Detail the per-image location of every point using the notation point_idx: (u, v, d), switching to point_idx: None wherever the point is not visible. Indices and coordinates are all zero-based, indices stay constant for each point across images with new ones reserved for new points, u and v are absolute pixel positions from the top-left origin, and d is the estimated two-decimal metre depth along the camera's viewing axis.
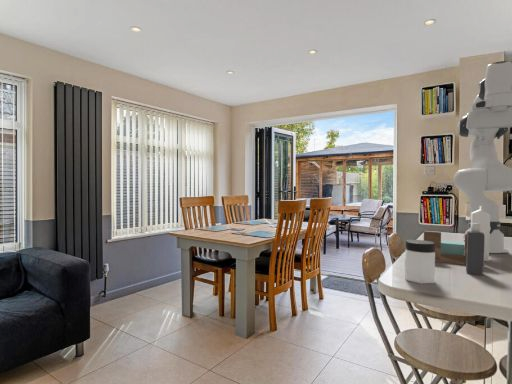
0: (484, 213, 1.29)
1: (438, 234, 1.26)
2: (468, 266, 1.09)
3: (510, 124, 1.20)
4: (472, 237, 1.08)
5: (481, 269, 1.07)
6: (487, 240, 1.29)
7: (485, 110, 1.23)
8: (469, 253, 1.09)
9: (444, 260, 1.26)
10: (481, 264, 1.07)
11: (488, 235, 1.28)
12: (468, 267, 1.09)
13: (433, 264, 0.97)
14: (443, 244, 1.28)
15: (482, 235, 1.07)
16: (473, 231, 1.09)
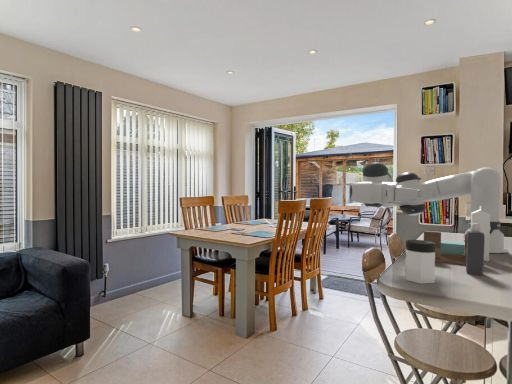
0: (484, 213, 1.29)
1: (438, 234, 1.26)
2: (468, 266, 1.09)
3: (418, 189, 1.22)
4: (472, 237, 1.08)
5: (481, 269, 1.07)
6: (487, 240, 1.29)
7: (398, 186, 1.18)
8: (469, 253, 1.09)
9: (444, 260, 1.26)
10: (481, 264, 1.07)
11: (488, 235, 1.28)
12: (468, 267, 1.09)
13: (433, 264, 0.97)
14: (443, 244, 1.28)
15: (482, 235, 1.07)
16: (473, 231, 1.09)
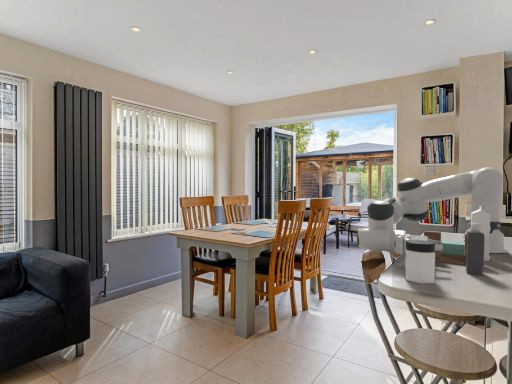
0: (484, 213, 1.29)
1: (438, 234, 1.26)
2: (468, 266, 1.09)
3: (426, 238, 1.20)
4: (472, 237, 1.08)
5: (481, 269, 1.07)
6: (487, 240, 1.29)
7: (407, 236, 1.16)
8: (469, 253, 1.09)
9: (444, 260, 1.26)
10: (481, 264, 1.07)
11: (488, 235, 1.28)
12: (468, 267, 1.09)
13: (433, 264, 0.97)
14: (443, 244, 1.28)
15: (482, 235, 1.07)
16: (473, 231, 1.09)
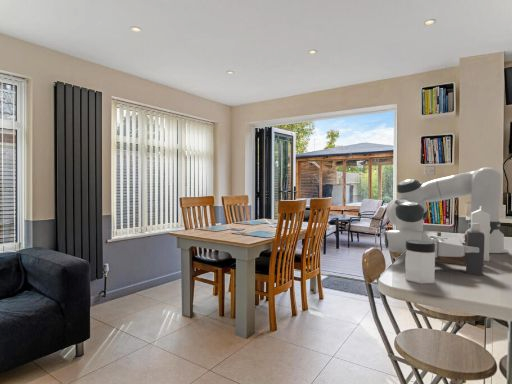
0: (484, 213, 1.29)
1: (438, 234, 1.26)
2: (468, 266, 1.09)
3: (459, 240, 1.15)
4: (472, 237, 1.08)
5: (481, 269, 1.07)
6: (487, 240, 1.29)
7: (440, 238, 1.11)
8: (469, 253, 1.09)
9: (444, 260, 1.26)
10: (481, 264, 1.07)
11: (488, 235, 1.28)
12: (468, 267, 1.09)
13: (433, 264, 0.97)
14: None
15: (482, 235, 1.07)
16: (473, 231, 1.09)
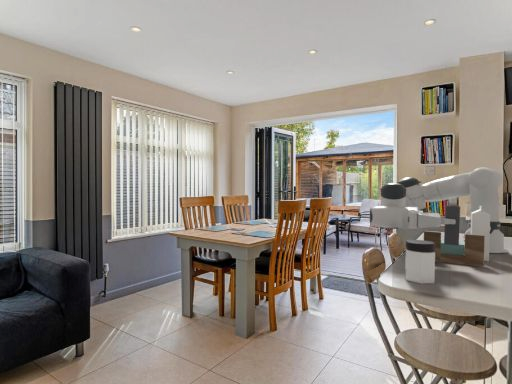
0: (484, 213, 1.29)
1: (438, 234, 1.26)
2: (445, 237, 1.17)
3: (438, 214, 1.23)
4: (449, 210, 1.16)
5: (457, 240, 1.15)
6: (487, 240, 1.29)
7: (420, 212, 1.19)
8: (446, 225, 1.17)
9: (444, 260, 1.26)
10: (457, 235, 1.15)
11: (488, 235, 1.28)
12: (445, 238, 1.17)
13: (433, 264, 0.97)
14: (443, 244, 1.28)
15: (458, 208, 1.15)
16: (450, 205, 1.17)
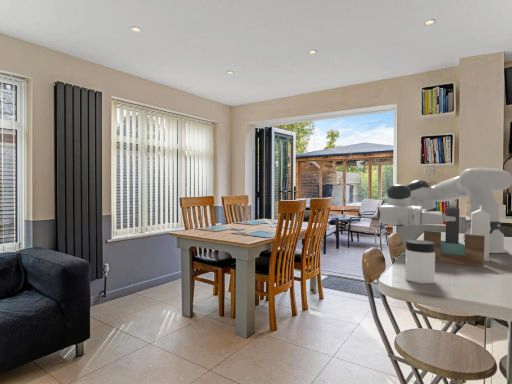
0: (484, 213, 1.29)
1: (438, 234, 1.26)
2: (446, 236, 1.29)
3: (440, 212, 1.35)
4: (450, 211, 1.29)
5: (457, 238, 1.27)
6: (487, 240, 1.29)
7: (423, 210, 1.31)
8: (447, 225, 1.29)
9: (444, 260, 1.26)
10: (457, 234, 1.27)
11: (488, 235, 1.28)
12: (446, 237, 1.29)
13: (433, 264, 0.97)
14: (443, 244, 1.28)
15: (458, 210, 1.27)
16: (451, 207, 1.30)
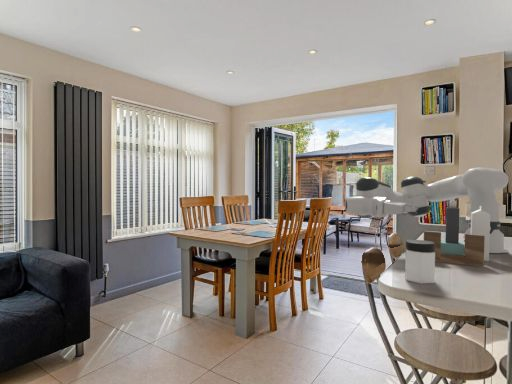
0: (484, 213, 1.29)
1: (438, 234, 1.26)
2: (446, 236, 1.29)
3: (404, 203, 1.40)
4: (450, 211, 1.29)
5: (457, 238, 1.27)
6: (487, 240, 1.29)
7: (386, 201, 1.36)
8: (447, 225, 1.29)
9: (444, 260, 1.26)
10: (457, 234, 1.27)
11: (488, 235, 1.28)
12: (446, 237, 1.29)
13: (433, 264, 0.97)
14: (443, 244, 1.28)
15: (458, 210, 1.27)
16: (451, 207, 1.30)
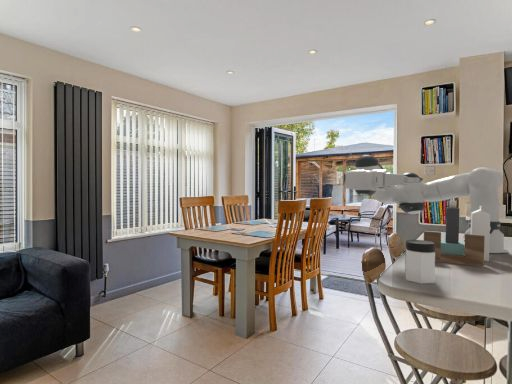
0: (484, 213, 1.29)
1: (438, 234, 1.26)
2: (446, 236, 1.29)
3: None
4: (450, 211, 1.29)
5: (457, 238, 1.27)
6: (487, 240, 1.29)
7: None
8: (447, 225, 1.29)
9: (444, 260, 1.26)
10: (457, 234, 1.27)
11: (488, 235, 1.28)
12: (446, 237, 1.29)
13: (433, 264, 0.97)
14: (443, 244, 1.28)
15: (458, 210, 1.27)
16: (451, 207, 1.30)
